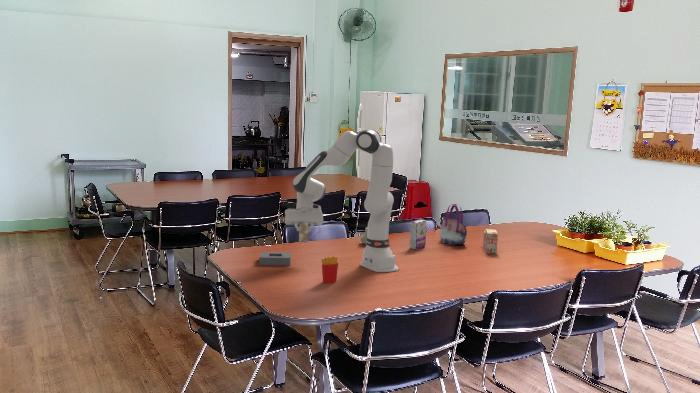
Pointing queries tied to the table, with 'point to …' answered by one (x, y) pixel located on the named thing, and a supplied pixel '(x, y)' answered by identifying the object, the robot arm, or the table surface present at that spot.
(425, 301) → the table surface
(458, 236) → the handbag
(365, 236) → the air freshener
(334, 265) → the french fries
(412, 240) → the candy bar box
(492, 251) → the beige snack box
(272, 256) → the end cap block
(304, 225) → the tan tall block
